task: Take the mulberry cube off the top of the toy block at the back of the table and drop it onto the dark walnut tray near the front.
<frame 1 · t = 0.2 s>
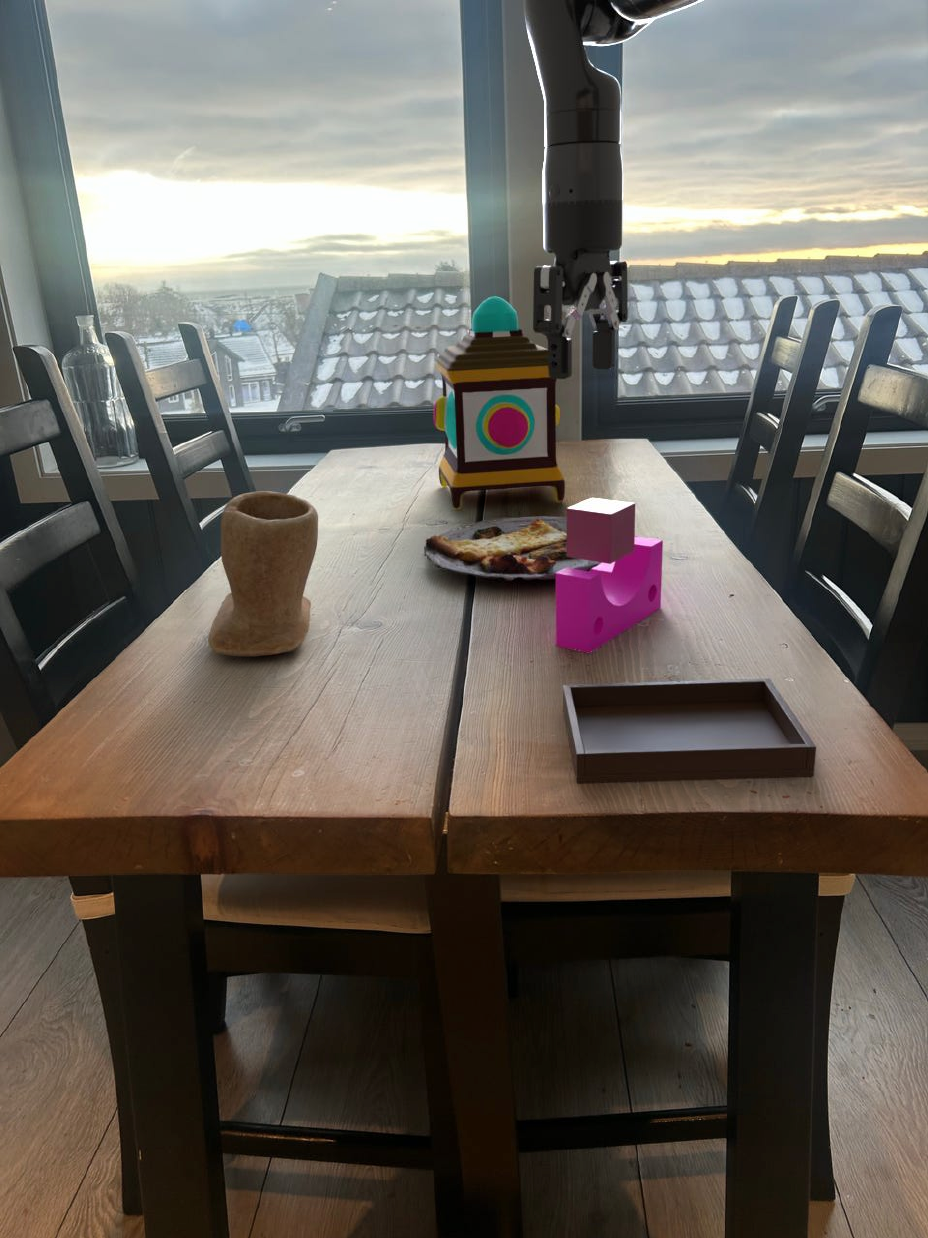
hand: (582, 373, 100), 25 cm above the table, tool pointing down, fingers open, 8 cm apart
cube: (600, 554, 101), point 8 cm above the table, touching toy block
food plate: (523, 562, 125), on the table
toy block: (600, 625, 103), on the table, touching cube
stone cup: (272, 638, 103), on the table
tray: (678, 741, 79), on the table
decorative lantern: (499, 495, 159), on the table
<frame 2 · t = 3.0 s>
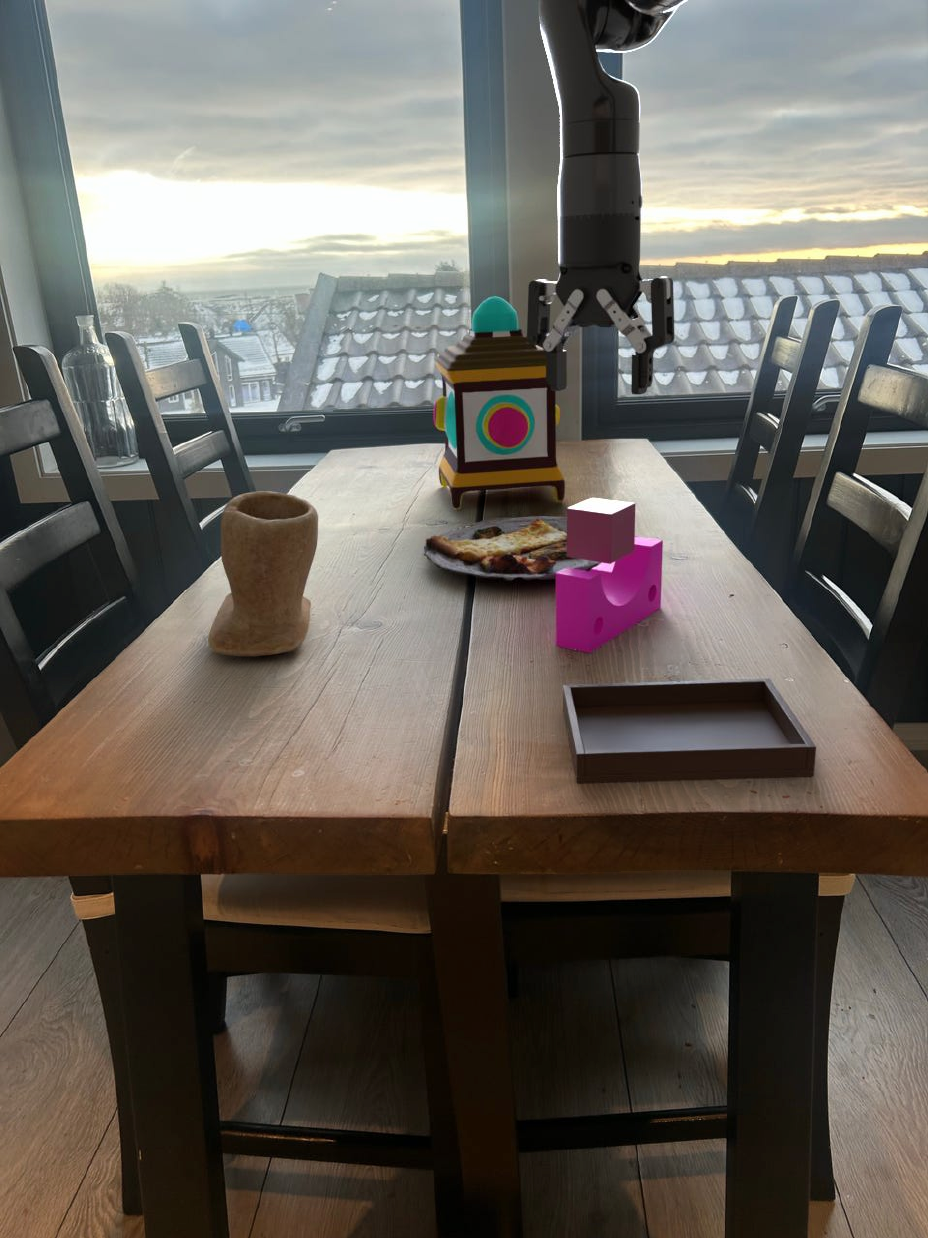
hand: (598, 391, 97), 23 cm above the table, tool pointing down, fingers open, 8 cm apart
nothing on the table moved.
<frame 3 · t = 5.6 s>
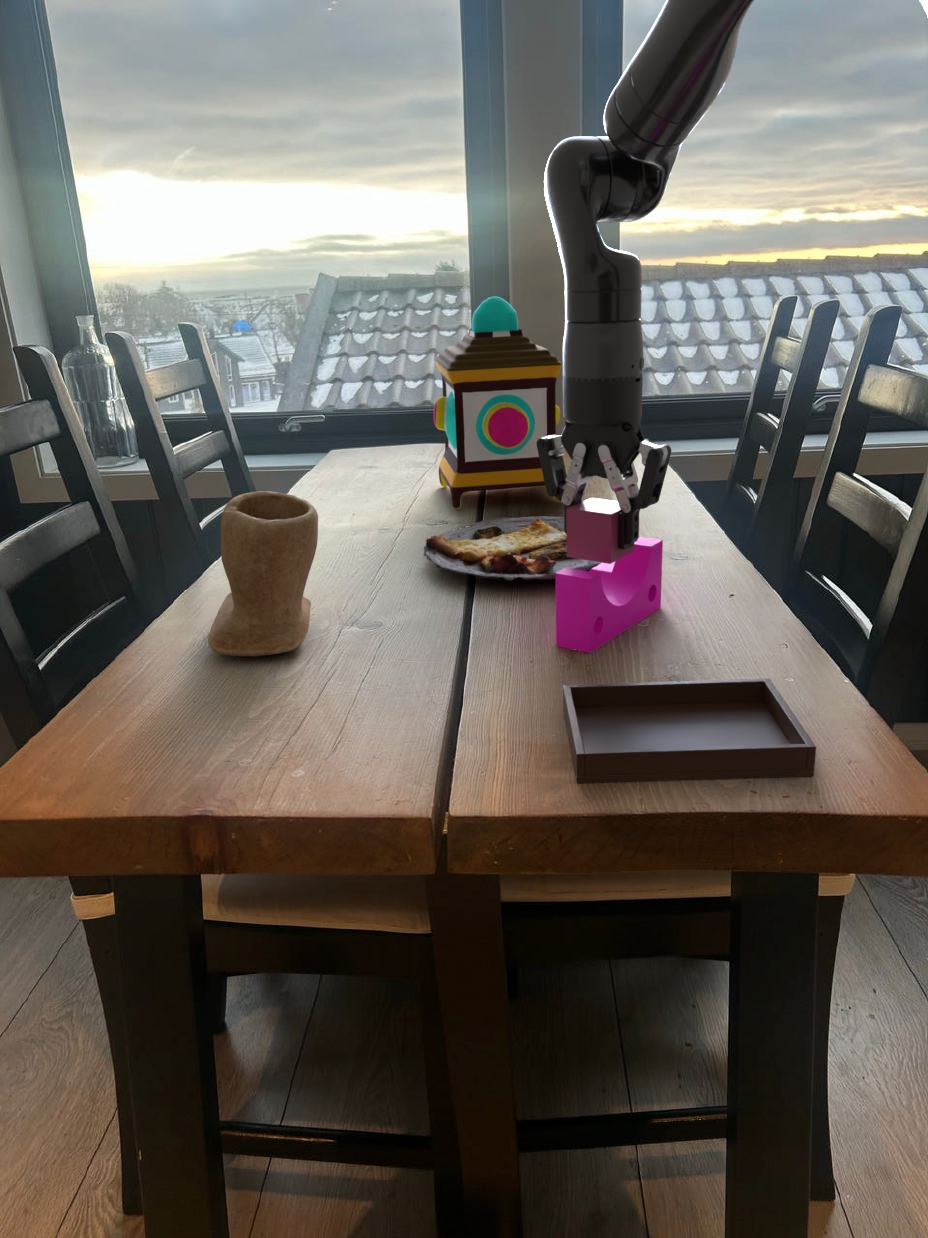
hand: (601, 542, 100), 9 cm above the table, tool pointing down, fingers closed on cube, 5 cm apart
cube: (600, 554, 101), point 8 cm above the table, touching gripper, toy block
everything else where it was.
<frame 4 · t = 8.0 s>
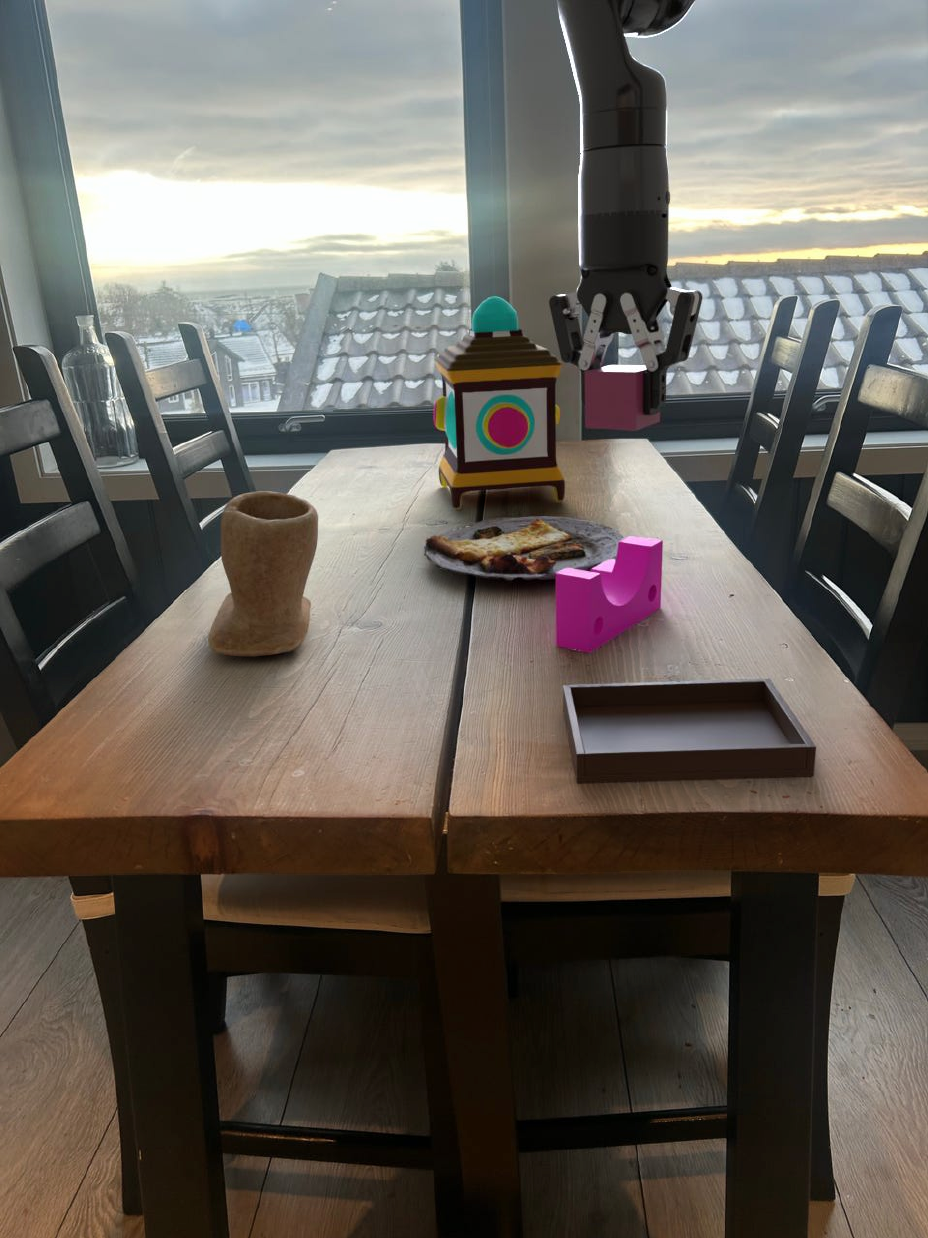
hand: (623, 411, 90), 23 cm above the table, tool pointing down, fingers closed on cube, 5 cm apart
cube: (622, 424, 90), point 21 cm above the table, touching gripper
toy block: (600, 625, 103), on the table
everything else where it was.
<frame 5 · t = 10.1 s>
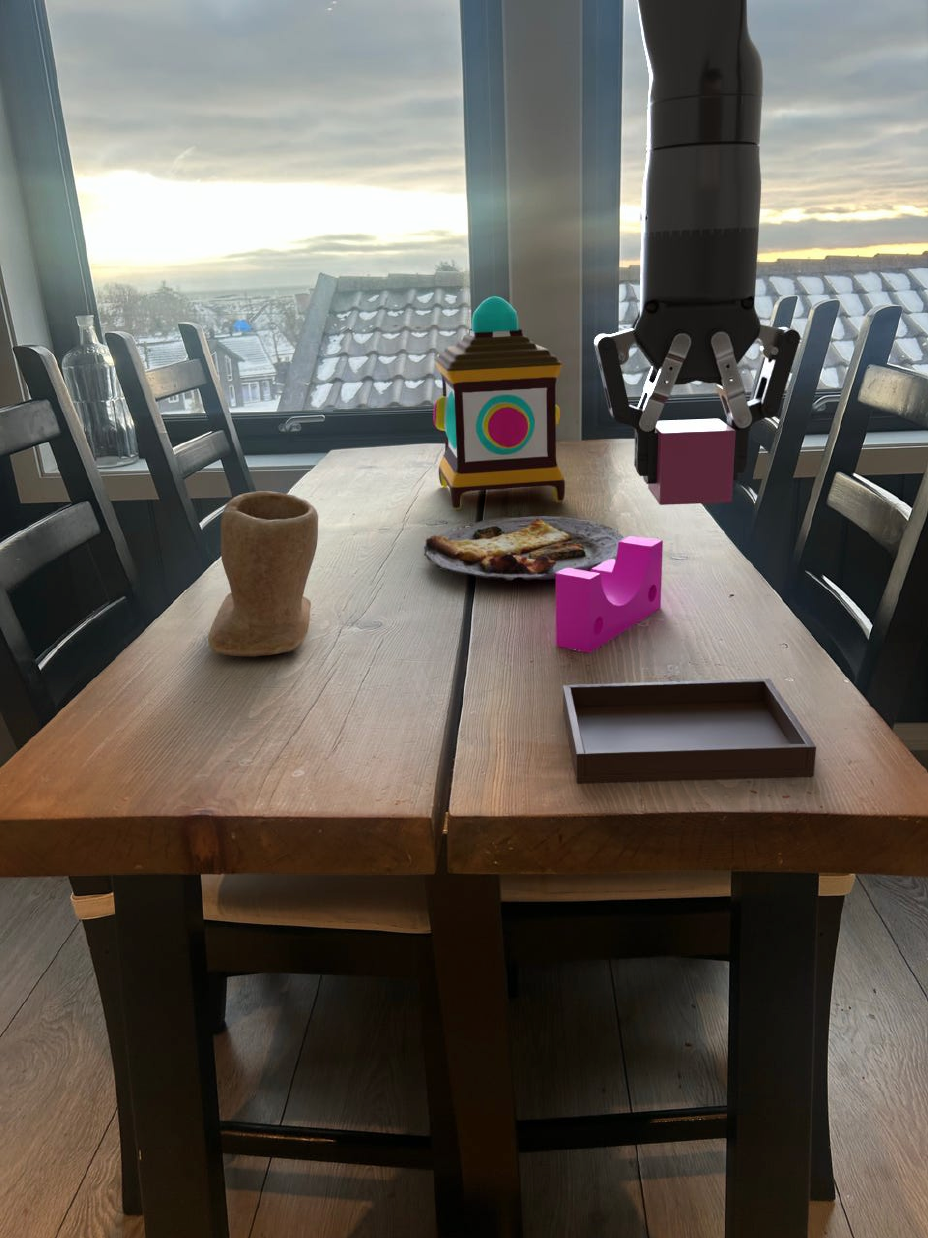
hand: (689, 479, 71), 21 cm above the table, tool pointing down, fingers closed on cube, 5 cm apart
cube: (688, 495, 72), point 20 cm above the table, touching gripper
everything else where it was.
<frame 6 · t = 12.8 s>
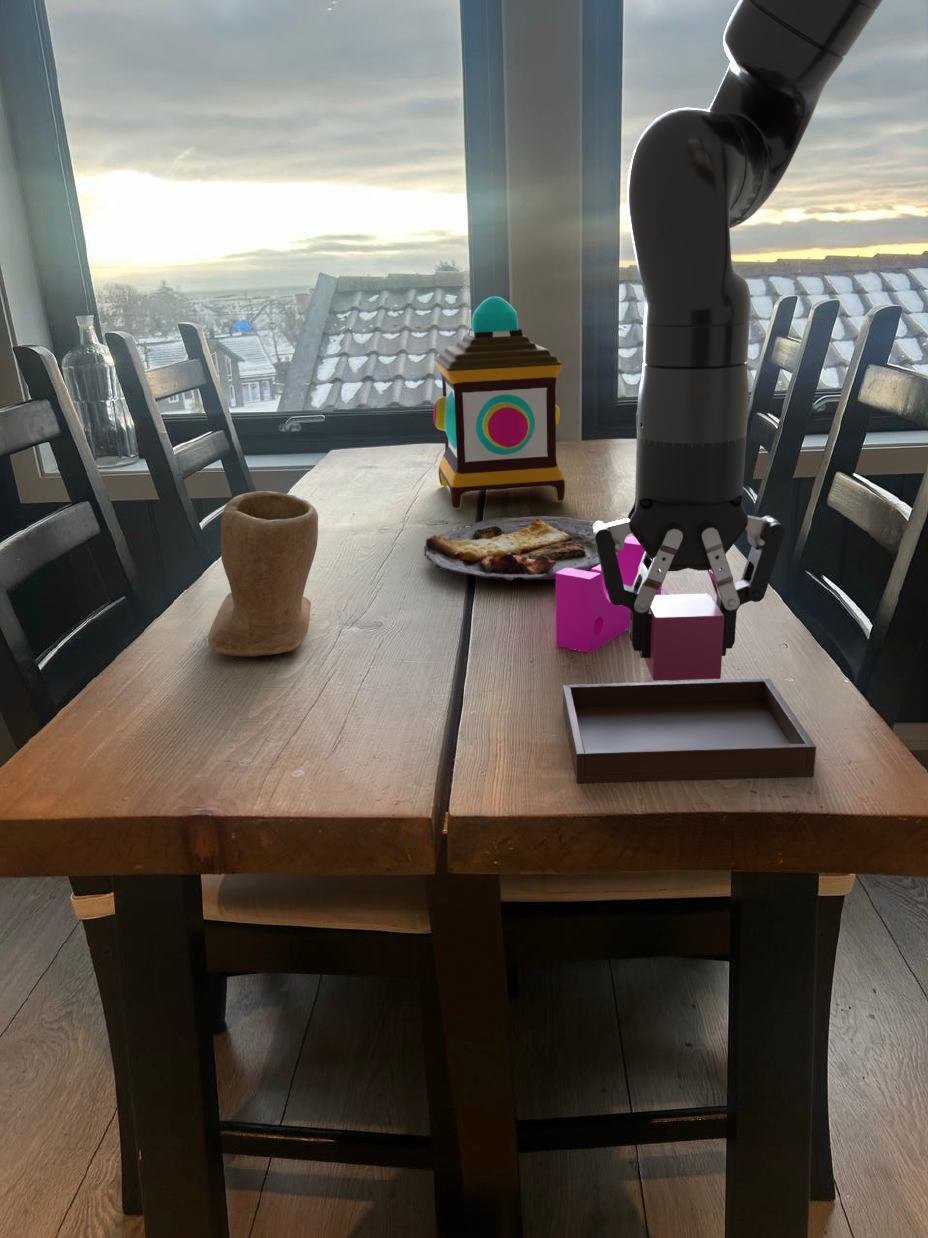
hand: (681, 652, 76), 8 cm above the table, tool pointing down, fingers closed on cube, 5 cm apart
cube: (680, 666, 76), point 6 cm above the table, touching gripper
everything else where it was.
when the fingers open (2 cm above the table, at t = 14.6 s): cube stays where it is, resting on tray.
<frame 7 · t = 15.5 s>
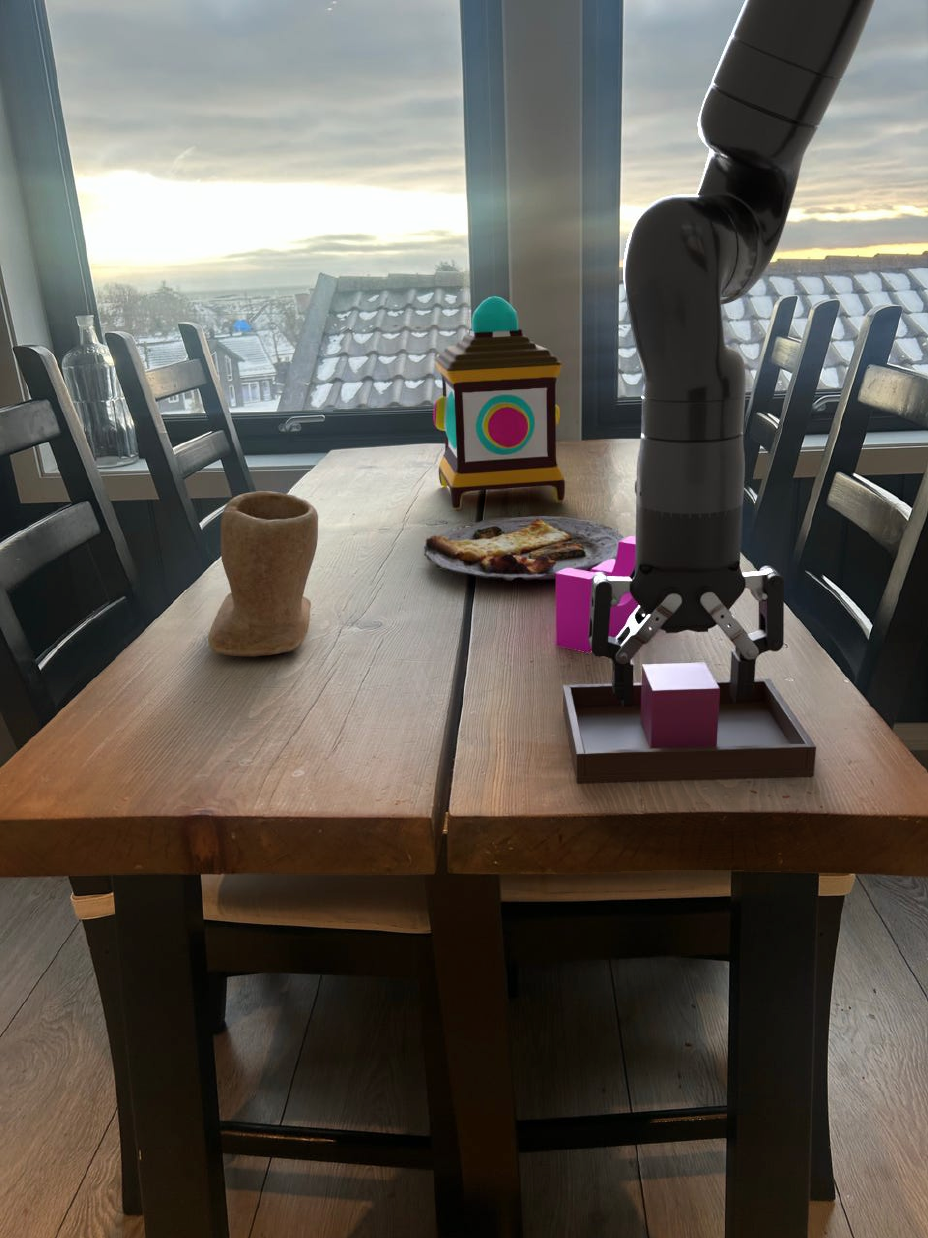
hand: (682, 701, 77), 3 cm above the table, tool pointing down, fingers open, 8 cm apart
cube: (677, 734, 78), point 1 cm above the table, touching tray
everything else where it was.
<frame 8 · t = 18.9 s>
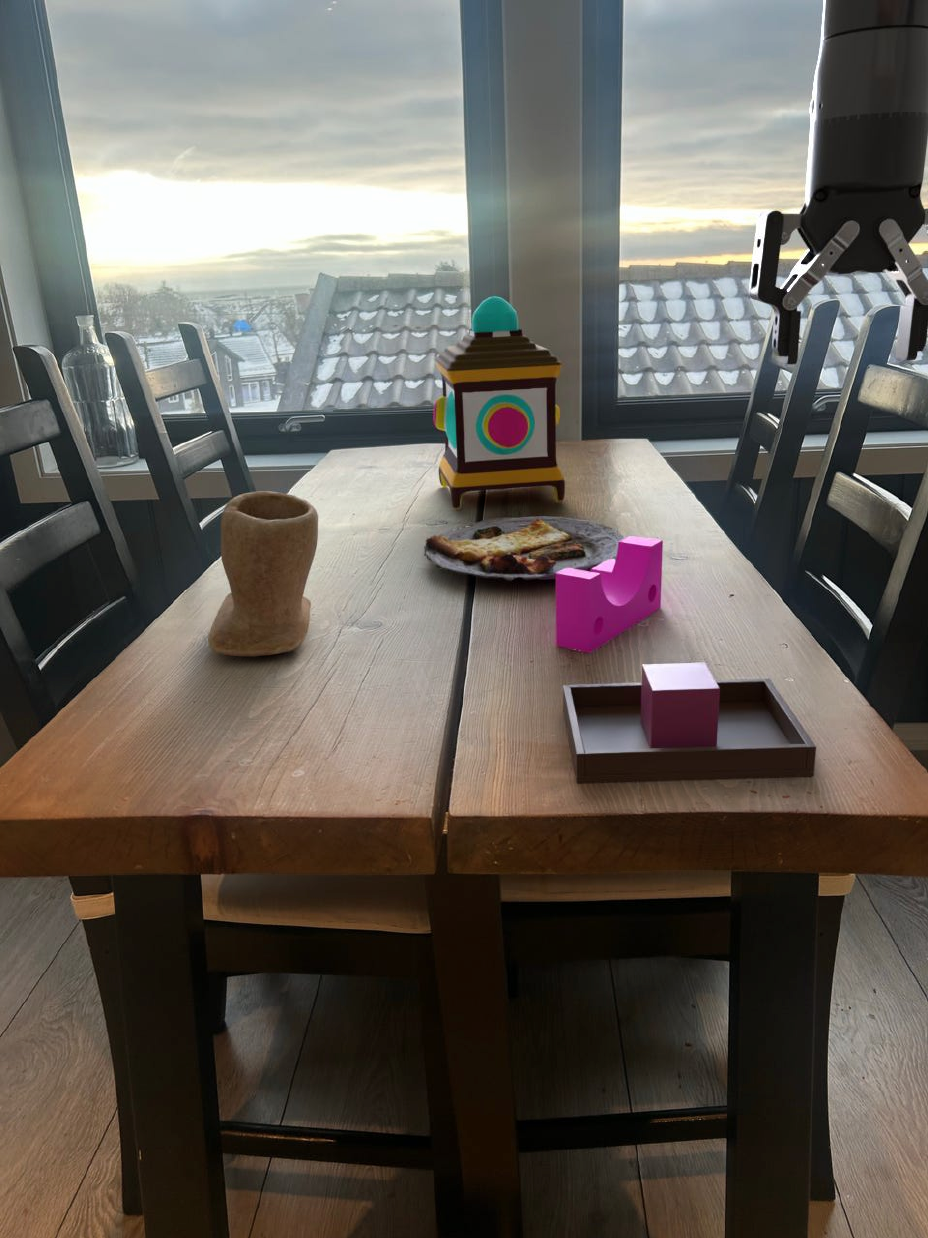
hand: (847, 361, 73), 28 cm above the table, tool pointing down, fingers open, 8 cm apart
nothing on the table moved.
at the end: cube 0.1 cm from the tray (horizontally); cube point 0.6 cm above the table; toy block moved 0.2 cm from its start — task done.
